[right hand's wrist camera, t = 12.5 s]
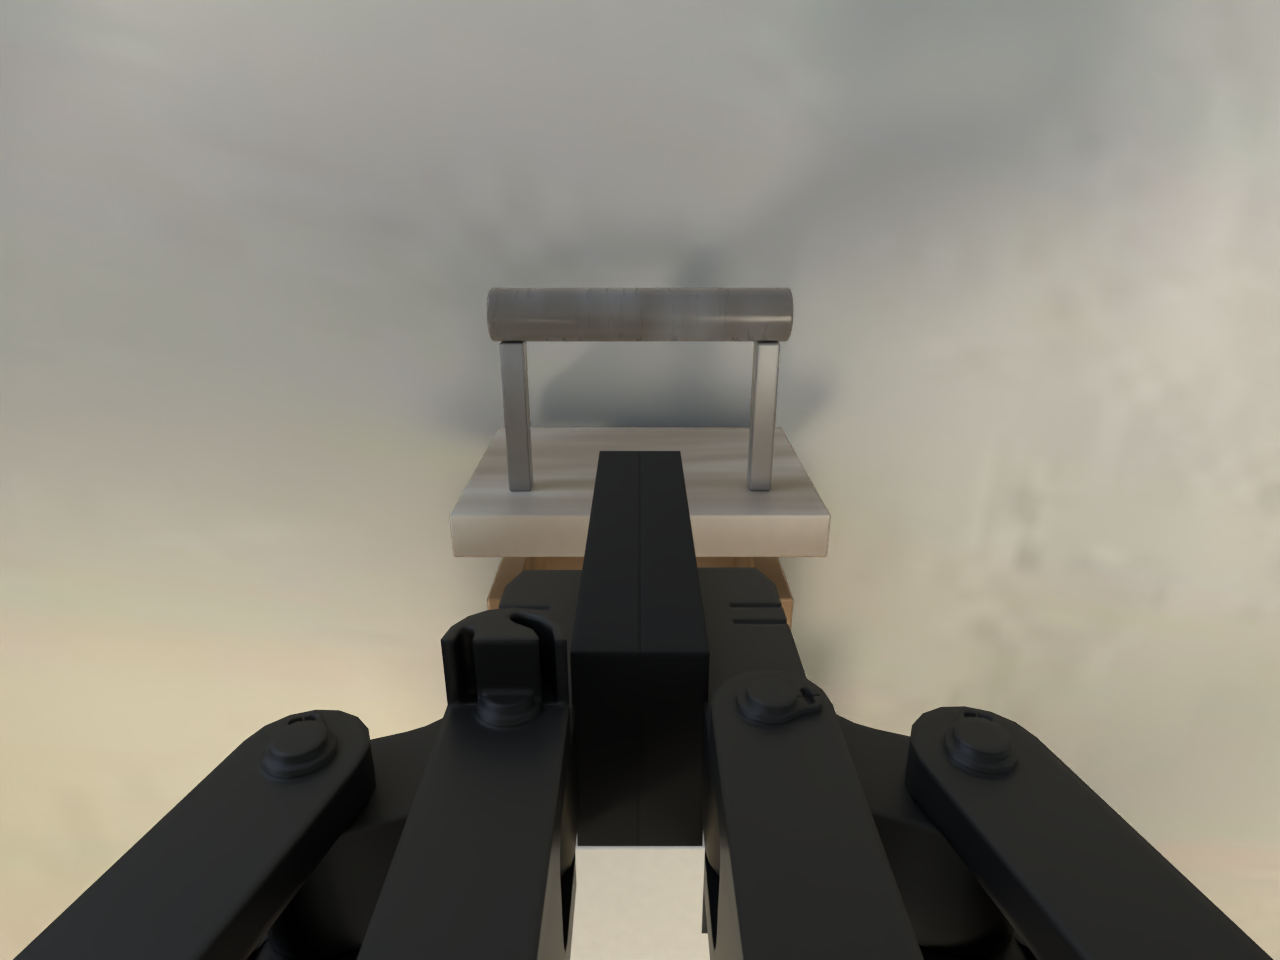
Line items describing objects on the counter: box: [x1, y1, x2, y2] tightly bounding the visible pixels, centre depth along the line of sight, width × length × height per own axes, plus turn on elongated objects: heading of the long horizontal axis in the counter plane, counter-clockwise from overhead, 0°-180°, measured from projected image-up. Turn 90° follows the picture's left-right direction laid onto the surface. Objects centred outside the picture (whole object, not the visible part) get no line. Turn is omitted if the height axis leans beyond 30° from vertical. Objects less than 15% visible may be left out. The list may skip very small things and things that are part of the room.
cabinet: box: [570, 834, 710, 960], centre depth 30 cm, size 18×11×9 cm, turn 0°
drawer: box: [450, 288, 831, 630], centre depth 25 cm, size 23×10×7 cm, turn 0°
